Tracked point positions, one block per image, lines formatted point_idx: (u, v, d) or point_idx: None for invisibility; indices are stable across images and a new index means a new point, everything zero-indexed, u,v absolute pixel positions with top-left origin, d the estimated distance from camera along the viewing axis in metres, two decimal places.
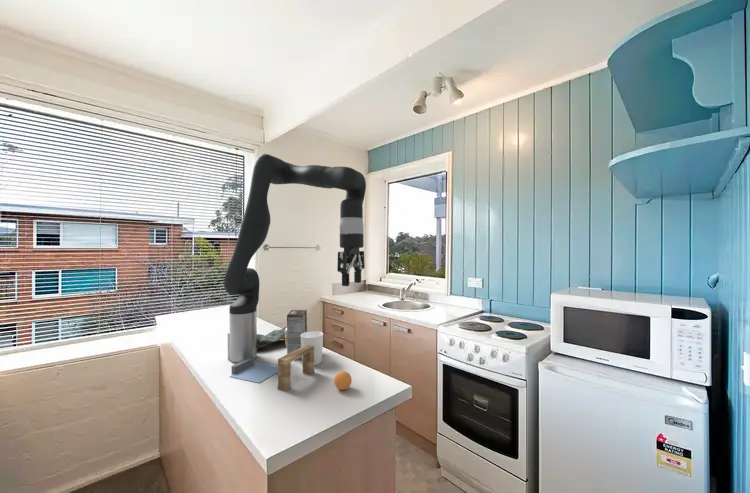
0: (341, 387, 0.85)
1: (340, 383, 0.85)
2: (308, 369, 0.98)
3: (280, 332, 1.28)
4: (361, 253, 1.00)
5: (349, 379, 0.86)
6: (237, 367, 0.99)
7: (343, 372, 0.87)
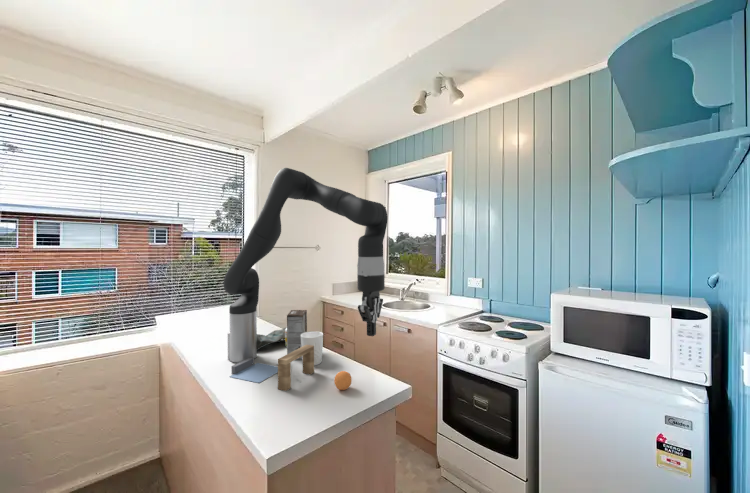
0: (341, 387, 0.85)
1: (340, 383, 0.85)
2: (308, 369, 0.98)
3: (281, 332, 1.28)
4: (380, 300, 0.88)
5: (349, 379, 0.86)
6: (237, 367, 0.99)
7: (343, 372, 0.87)
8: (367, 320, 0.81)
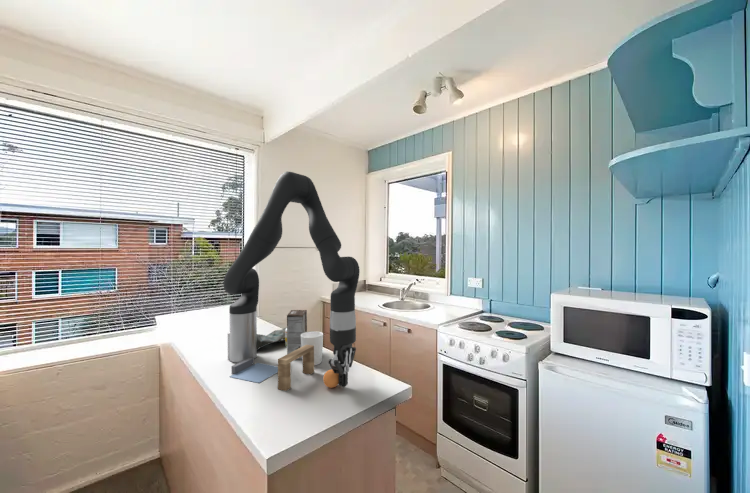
0: (331, 381, 0.86)
1: (327, 379, 0.86)
2: (308, 369, 0.98)
3: (281, 332, 1.28)
4: (352, 349, 0.92)
5: (331, 371, 0.88)
6: (237, 367, 0.99)
7: None
8: (338, 372, 0.85)
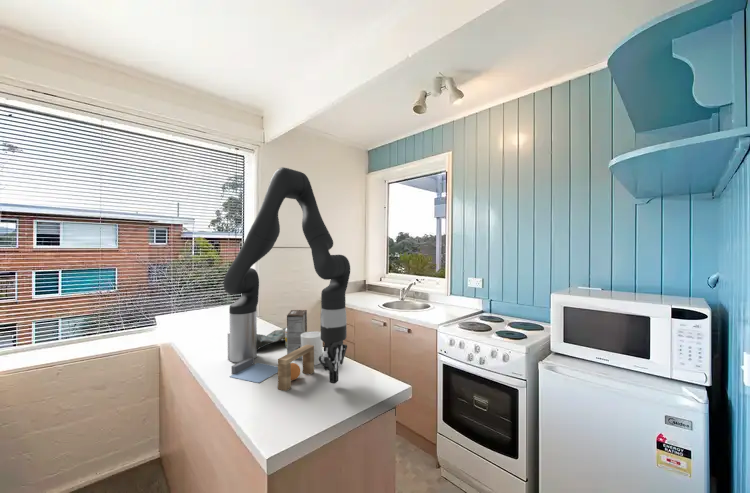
0: None
1: None
2: (308, 369, 0.98)
3: (281, 332, 1.28)
4: (344, 346, 0.93)
5: (295, 367, 0.92)
6: (237, 367, 0.99)
7: None
8: (329, 369, 0.85)
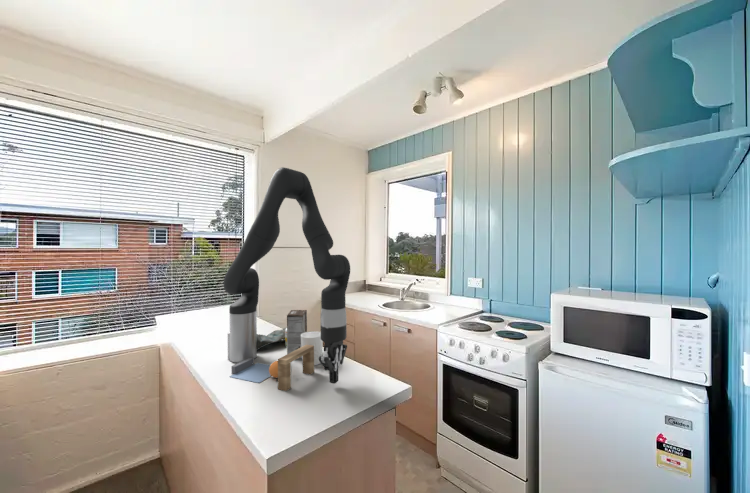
0: (272, 368, 0.94)
1: (270, 371, 0.94)
2: (308, 369, 0.98)
3: (281, 332, 1.28)
4: (344, 346, 0.93)
5: None
6: (237, 367, 0.99)
7: None
8: (329, 369, 0.86)
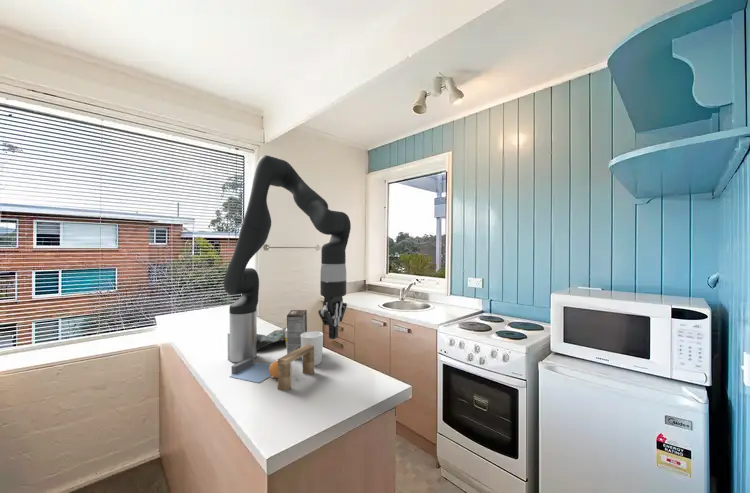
0: (272, 368, 0.94)
1: (270, 371, 0.94)
2: (308, 369, 0.98)
3: (281, 332, 1.28)
4: (343, 304, 0.93)
5: None
6: (237, 367, 0.99)
7: None
8: (328, 324, 0.86)
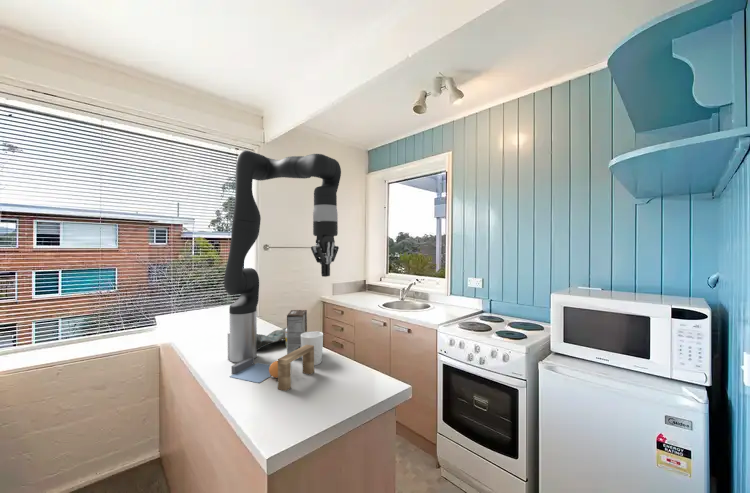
0: (272, 368, 0.94)
1: (270, 371, 0.94)
2: (308, 369, 0.98)
3: (281, 332, 1.28)
4: (335, 247, 0.98)
5: None
6: (237, 367, 0.99)
7: None
8: (320, 261, 0.91)
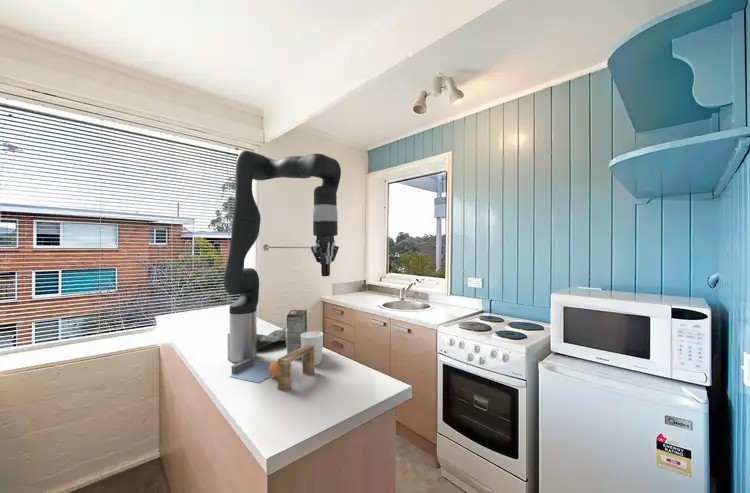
0: (272, 368, 0.94)
1: (270, 371, 0.94)
2: (308, 369, 0.98)
3: (281, 332, 1.28)
4: (335, 247, 0.98)
5: None
6: (237, 367, 0.99)
7: None
8: (320, 261, 0.91)
